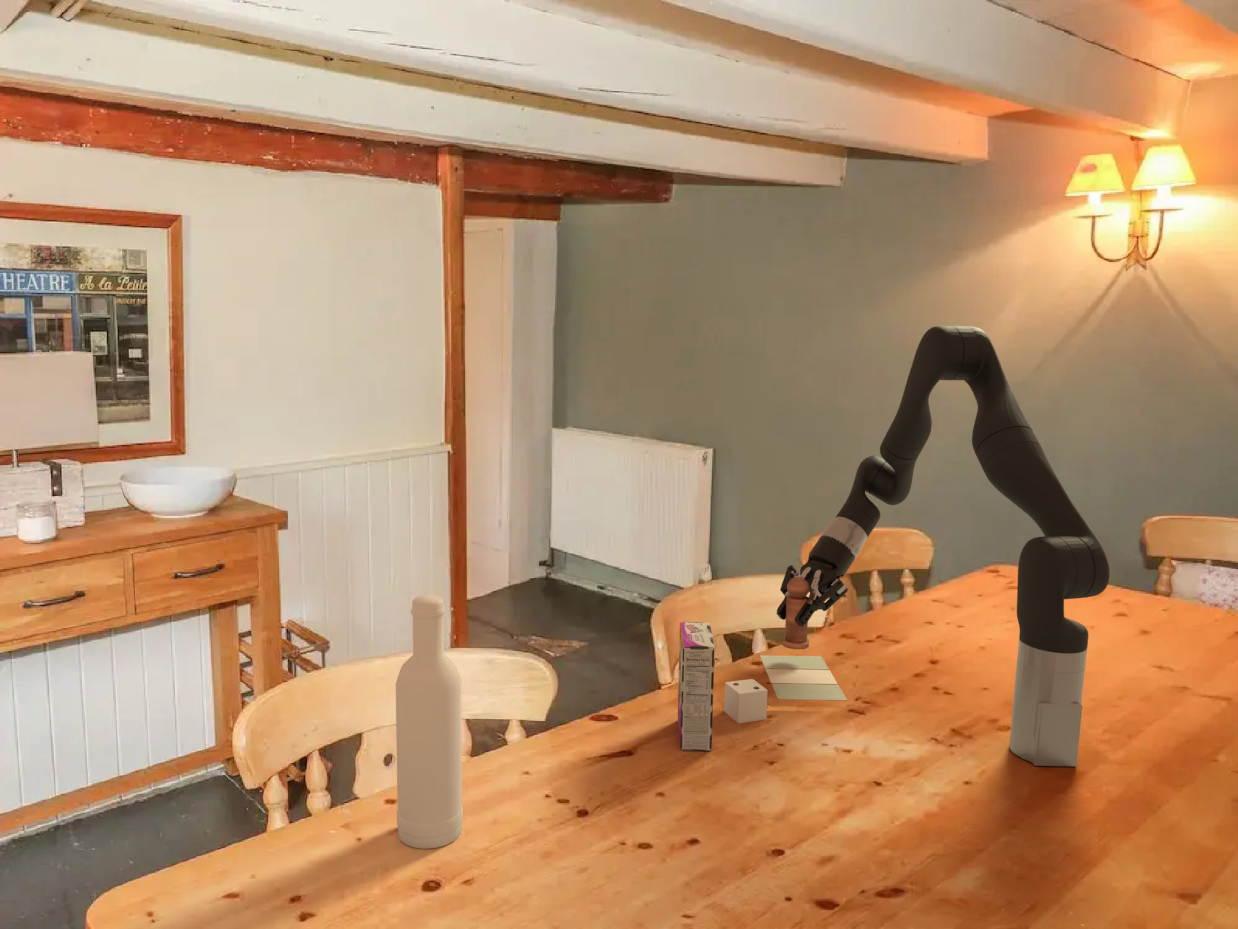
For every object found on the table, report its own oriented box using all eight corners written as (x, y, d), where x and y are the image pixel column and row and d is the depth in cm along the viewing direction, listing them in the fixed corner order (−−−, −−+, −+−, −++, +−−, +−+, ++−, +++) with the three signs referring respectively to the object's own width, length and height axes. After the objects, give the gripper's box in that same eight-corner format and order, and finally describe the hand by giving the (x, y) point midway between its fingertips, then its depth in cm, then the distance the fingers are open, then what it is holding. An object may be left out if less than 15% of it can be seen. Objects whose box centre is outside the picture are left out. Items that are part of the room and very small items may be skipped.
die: (766, 720, 157) (767, 689, 156) (738, 724, 155) (739, 693, 154) (751, 707, 161) (752, 678, 161) (724, 711, 160) (725, 682, 159)
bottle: (434, 809, 127) (432, 585, 122) (476, 831, 122) (475, 598, 117) (383, 834, 121) (379, 599, 116) (425, 858, 116) (422, 613, 111)
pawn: (811, 649, 177) (814, 581, 175) (784, 649, 177) (787, 580, 175) (806, 641, 182) (809, 574, 180) (780, 640, 182) (783, 573, 180)
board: (852, 705, 163) (852, 702, 163) (774, 704, 163) (774, 700, 163) (824, 658, 185) (824, 655, 184) (755, 657, 184) (755, 653, 184)
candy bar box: (675, 720, 156) (679, 620, 153) (707, 721, 156) (711, 621, 153) (678, 751, 145) (682, 645, 142) (712, 752, 145) (716, 646, 142)
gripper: (801, 527, 187) (751, 599, 182) (859, 542, 175) (808, 618, 170) (819, 551, 191) (771, 621, 185) (877, 567, 179) (827, 642, 174)
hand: (789, 620), depth 178 cm, fingers closed on pawn, 4 cm apart
